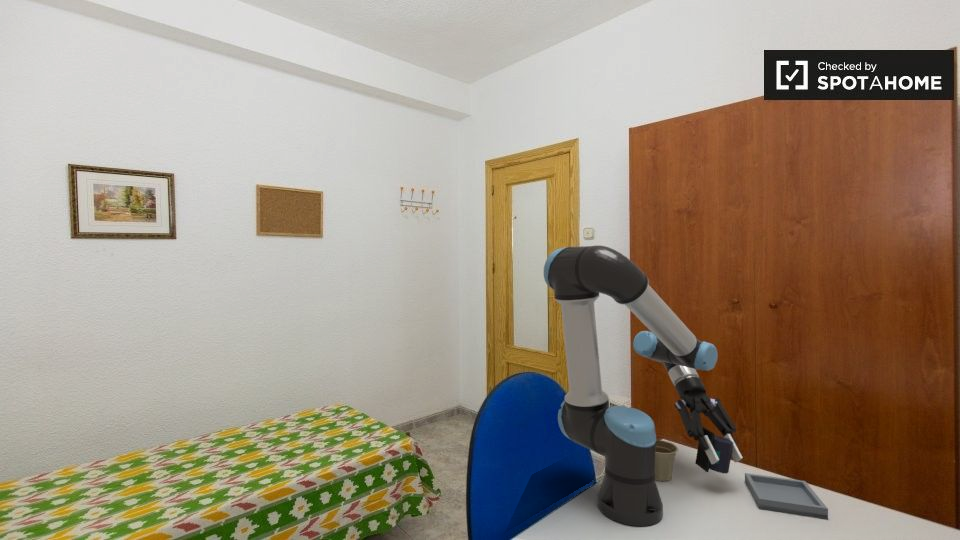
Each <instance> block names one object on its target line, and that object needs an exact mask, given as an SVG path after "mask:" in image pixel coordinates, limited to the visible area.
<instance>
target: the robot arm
mask: <svg viewBox="0 0 960 540" xmlns="http://www.w3.org/2000/svg"><path fill="white" fill-rule="evenodd" d="M543 278H544V281H545V284H546V285H547V286H548V287H549V288H550V289H551V290H552V291H553V295H554V301H556V302H557V303H558V304H559V305H560V307H561V318H562V319H561V320H562V329H563V337H564V350H565V358H566V369H567V379H568V387H569V389H568V392H567V393H566V394H565V395H564V399H563V401H562V402H561V404H560V407H561V408H560V409H558V413H557V422H558V427H559V428H560V431H561V433H562V434H563V436H565V437H566V438H567V439H569V440H570V441H571V442H573V443H575V444H576V445H580V446H582V447H584V448H586V449H587V450H590V451H591V452H594V453H596V454H598V455H601V456H602V457H604V474H603V478H602V480H601V483H600V486H599V489H598V491H597V508H598V509H599V511H600V512H601V513H602V514H603V515H604V516H606V517H607V518H609V520H610V519H611V520H612V521H615V522H617V523H620V524H623V525H627V526H633V527H647V526H652V525H655V524H658V523H659V522H660V521H661V520H662V519H663V515H664V505H663V501H662V498H661V495H660V492H659V489H658V485H657V482H656V480H655V442H656V440H657V434H656V428H655V422H654V420H653V419H652V418H651V417H650V416H649V414H647V413H646V412H644V411H642V410H640V409H637V408H634V407H631V406H630V407H627V406H625V405H612V406H610V401H609V399H610V398H609V395H608V394H607V393H606V392H605V391H604V390H603V387H602V377H601V367H600V366H601V365H600V354H599V345H598V332H597V321H596V311H595V309H596V308H595V302H596V300H598V298H599V297H600V294H603V295H606V296H609V297H611V298H612V299H613V300H614V301H615V302H616V303H617V304H619V305H624V306H625V307H626V308H627V309H629V310H630V312H631V313H632V314H633V315H634V316H635V317H636V318H637V319H638V320H639V321H640V322H641V323H642V324H643V325H644V326H645V327H646V328H647V329H648V330H649V331H648V330H642V331H639V332H638V333H637V334H636V335H635V337H634V339H633V343H632V345H633V347H632V348H633V349H634V352H635V353H636V354H638V355H640V356H641V357H643V358H646V359H649V360H652V361H654V362H657V363H660V364H662V365H663V366H664V369H665V371H666V372H667V374H668V377H669V378H670V380H671V383H672V384H673V386H674V389H675V391H676V392H677V395H678V397H679V398H680V399H678V400H677V401H676V402H675V403H674V407H675V409H676V410H677V411H678V413H679V416H680V418H681V421H682V424H683V425H684V429H685V431H686V433H687V436H688V438H693V440H694V441H697V442H698V444H700V446H701V448H702V450H705V452H706V454H707V456H708V458H709V460H710V462H711V464H715V463H716V462H717V461H719V458H718V456H717V454H716V452H715V450H714V448H713V446H712V444H711V442H710V440H709V438H708V436H707V435H705V436H703V435H704V433H703V428H702V426H703V423H702V418H701V414H703V415H704V416H705V417H707V418H708V420H710V421H711V423H712V424H713V425H714V426H715V427H716V429H717V430H718V432H719V433H721V434H722V437H723V438H726V439H729V440H731V441H732V442H733V448H732V454H731V458H732V460H733V462H734V463H738V462H740V461H741V460H743V459H744V458H743V456H742V453H741V452H740V450H739V448H738V443H737V441H736V438H735V437H734V435H733V434H734V433H735V432H736V431H737V427H736V426H735V423H733V421H732V420H731V417H730V416H729V414H728V413H727V412H726V410H725V408H724V407H723V405H722V401H721V399H720V398H718V397H716V398H715V399H714V398H711V397H710V396H709V395H708V394H707V391H706V387H705V385H704V383H703V382H702V380H701V378H700V376H699V374H698V372H697V371H698V370H701V371H711V370H713V369H714V368H715V366H716V363H717V361H718V355H719V354H718V350H717V348H716V346H715V345H714V344H713V343H711V342H707V341H705V340H704V341H701V340H699V339H698V338H697V337H696V335H694V333H693V332H692V331H691V329H689V328H688V327H687V325H686V324H685V323H684V322H683V321H682V319H680V317H679V316H678V315H677V314H676V313H675V312H674V311H673V310H672V309H671V307H670V306H669V305H667V303H666V302H665V301H664V300H663V299H662V298H661V297H660V296H659V294H658V293H657V292H656V291H655V290H654V289H653V288H652V287H651V285H649V282H650V280H649V278H648V276H647V275H646V273H645V272H644V271H643V270H641V268H640V267H639V266H638V265H636V263H635V262H633V261H632V260H631V259H629V258H628V257H627V256H625V255H624V254H622V253H621V252H619V251H618V250H616V249H614V248H612V247H609V246H605V245H588V246H587V245H586V246H584V245H583V246H567V247H561V248H558V249H555V250H554V251H552V252H551V253H550V254H549V256H548V257H547V259H546V260H545V262H544V265H543Z"/></svg>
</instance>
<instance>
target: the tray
mask: <svg viewBox="0 0 960 540" xmlns="http://www.w3.org/2000/svg"><path fill="white" fill-rule="evenodd" d="M744 484H745V485H746V487H747V490H748V491H749V493H750V494H751V496H752V498H753V500H754V502H755V504H756V506H757V508H758V509H759V510H764V511H771V512H776V513H777V512H778V513H784V514H789V515H790V514H791V515H797V516H803V517H811V518H816V519H821V520H822V519H824V520H829V508H828V507H827V505H826V504H825V503H824V501H823V500H821V499H820V497H819V496H818V495H817V493H816V492H815V491H814V490H813V489H812V487H811V486H810V485H809V484H808V482H807V481H805V480H801V479H792V478H784V477H777V476H769V475H763V474H762V475H761V474H755V473H747V472H744Z"/></svg>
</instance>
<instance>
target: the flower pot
mask: <svg viewBox="0 0 960 540" xmlns="http://www.w3.org/2000/svg"><path fill="white" fill-rule="evenodd" d="M678 449H679V448H678V447H677V445H675V444H674V443H671V442H670V441H666V440H663V439H662V440H661V439H656V442H655V481H658V482H659V481H660V482H665V481H667V482H668V481H670V480H672V473H673V469H674V468H673V467H674V461H675V457H676V454H677V452H678V451H679V450H678Z"/></svg>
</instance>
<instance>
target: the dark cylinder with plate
mask: <svg viewBox="0 0 960 540" xmlns="http://www.w3.org/2000/svg"><path fill="white" fill-rule="evenodd" d="M702 428H703V433H704V435H703V436H705V435H707V436H708V438H709V440H710V442H711V444H712V446H713V448H714V450H715V452H716V454H717V456H718V458H719V461H717V462H716V463H715V464H711V462H710V460H709V458H708V456H707V454H706V452H705V450H702V448H701V446H700V444H699V443H698V445H697V450H696V451H697V452H696V458H695V463H694V464H696V465H697V466H698V467H700V469H702V470H703V471H705V472H706V473H709V472H710V470H711V471H713V472H717V473H720V474H728V473H729V471H730V465H731V460H732V459H731V458H732V456H731V454H732V448H733V442H732V441H731V440H729V439H726V438H723V437H724V436H720V435H719V436H718V435H716V434H715V433H714V432H713V431H711V430H709V429H707V428H706V427H705V426H703V425H702Z"/></svg>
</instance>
